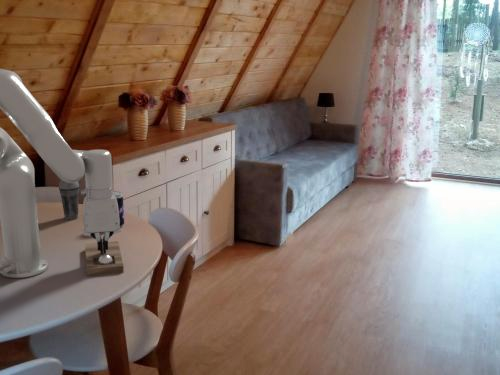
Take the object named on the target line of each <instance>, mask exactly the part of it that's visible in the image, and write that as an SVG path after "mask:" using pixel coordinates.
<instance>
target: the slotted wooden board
mask: <svg viewBox="0 0 500 375" xmlns="http://www.w3.org/2000/svg"><path fill="white" fill-rule="evenodd" d="M84 245H85V246H84V248H85V249H84V251H85V263H86V264H85V266H86V267H85V268H86V277H91V276H100V275H101V276H102V275H110V274H118V273H121V274H122V273H124V272H125V271H124V270H125V269H124V262H123V258H122V254H121V248H120V243H119V241H108V250H106V254H107V255H110V256H111V257H112V260H113V263H112V264H107V265H99V263H98V260H99V258H100V257H101V256H102V255H104V252H103V253H102V254H101V253H100V250H99V251H98V245H97V242H96V243H95V242H92V243H85V244H84Z"/></svg>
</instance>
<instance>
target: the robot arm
mask: <svg viewBox="0 0 500 375" xmlns="http://www.w3.org/2000/svg"><path fill="white" fill-rule="evenodd" d="M0 109H1V111H2V112H3V113H4V114H5V115H6V116H7V118H8V119H9V120H10V121H11V122H12V123H13V125H15V127H16V128H17V129H18V130H19V131H20V132H21V133H22V135H23V136H24V138H25V139H26V141H27V142H28V143H29V144H30V145H31V147H32V148H33V149H34V150H35V151H36V153H37V154H38V155H39V157H41V159H42V160H43V162H45V164H46V165H47V166H48V167H49V168H50V169H51V170H52V172H53V173H54V174H55V175H56V176H57V177H58V178H59V179H60V181H61V180H63V181H65V182H68V183H74V182H77V181H78V182H79V181H80V180H81V179H83V177H85V178H84V181H85V188H84V189H81V190H80V195H81V196H83V195H84V196H85V197H84V198H83V203H82V224H83V231H82V235H83V236H88V237H92V238H93V239H94V240H96V243H97V245H98V251H99V250H100V253H101V254H102V253H103V252H104V254H106V250H108V242H109V240H110V238H111V237H112V236H113V235H114V234H118V233H121V227H120V220H119V210H118V203H117V199H116V196H115V195H113V192H114V185H113V183H114V182H113V163H112V160H113V159H112V154H111V152H110V151H109V150H107V149H90V150H83V149H82V150H78V149H72V148H71V147H70V145H69V144H68V143H67V142H66V140H65V139H64V138H63V136H62V135H61V133H60V132H59V131H58V129H57V126H56V125H55V123H54V121H53V119H52V117H51V116H50V115H49V113H48V112H47V111H46V110H45V109H44V107H43V106H42V104H40V103H39V101H38V100H37V99H36V98H35V97H34V96H33V94H32V93H31V92H30V91H29V89H28V88H27V87H26V85H24V83H23V80H22V78H21V77H20V76H19V75H18V74H17V73H16V72H14V71H12V70H9V69H3V68H0ZM35 183H36V182H35V167H34V164H33V162H32V160H31V159H30V157H28V155H27V154H26V153H25V152H24V151H23V150H22V148H21V147H20V146H19V145H18V143H16V142H15V141H14V139H13V138H12V137H11V136H10V134H9V133H8V132H7V131H6V130H5V129H3V128H2V127H1V126H0V228H1V235H2V243H3V244H2V245H3V253H4V257H3V258H1V262H0V274H1V275H2V276H4V277H6V278H11V279H15V278H16V279H21V278H29V277H33V276H36V275H38V274H41V273H43V272H44V271H46V270H47V269H48V267H49V264H48V261H47V259H45V258H42V252H41V251H42V250H41V249H42V248H41V241H40V240H41V239H40V229H39V218H38V207H37V194H36V184H35ZM100 233H104V235H103V236H101V234H100Z"/></svg>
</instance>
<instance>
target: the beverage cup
mask: <svg viewBox="0 0 500 375" xmlns="http://www.w3.org/2000/svg"><path fill="white" fill-rule="evenodd" d="M58 190H59V194H60V198H61V203H62V208H63V209H62V210H63V216H64V219H65V220H67V221H72V220H73V221H74V220H77V219H78V218H79V198H80V197H79V193H80V184H79V181H77V182H74V183H68V182H65V181H63V180H61V179H60V182H59V184H58Z"/></svg>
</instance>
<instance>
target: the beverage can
mask: <svg viewBox="0 0 500 375" xmlns="http://www.w3.org/2000/svg"><path fill="white" fill-rule="evenodd" d="M113 195H115V196H116V199H117V203H118V210H119V220H120V228H122V227H123V226H124V224H125V214H124V213H125V210H124V209H125V207H124V206H125V205H124V196H123V194H122V191H114V190H113Z"/></svg>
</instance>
